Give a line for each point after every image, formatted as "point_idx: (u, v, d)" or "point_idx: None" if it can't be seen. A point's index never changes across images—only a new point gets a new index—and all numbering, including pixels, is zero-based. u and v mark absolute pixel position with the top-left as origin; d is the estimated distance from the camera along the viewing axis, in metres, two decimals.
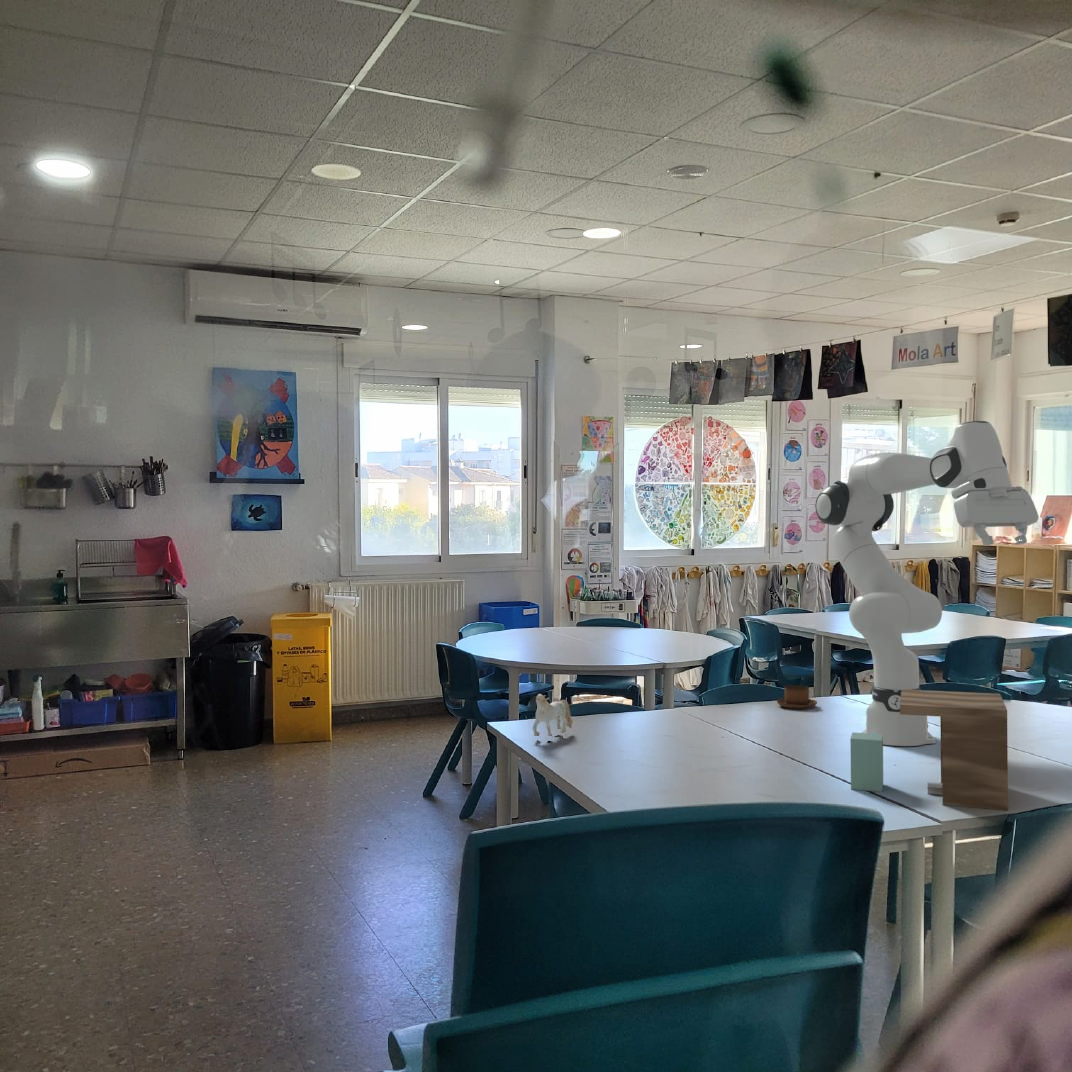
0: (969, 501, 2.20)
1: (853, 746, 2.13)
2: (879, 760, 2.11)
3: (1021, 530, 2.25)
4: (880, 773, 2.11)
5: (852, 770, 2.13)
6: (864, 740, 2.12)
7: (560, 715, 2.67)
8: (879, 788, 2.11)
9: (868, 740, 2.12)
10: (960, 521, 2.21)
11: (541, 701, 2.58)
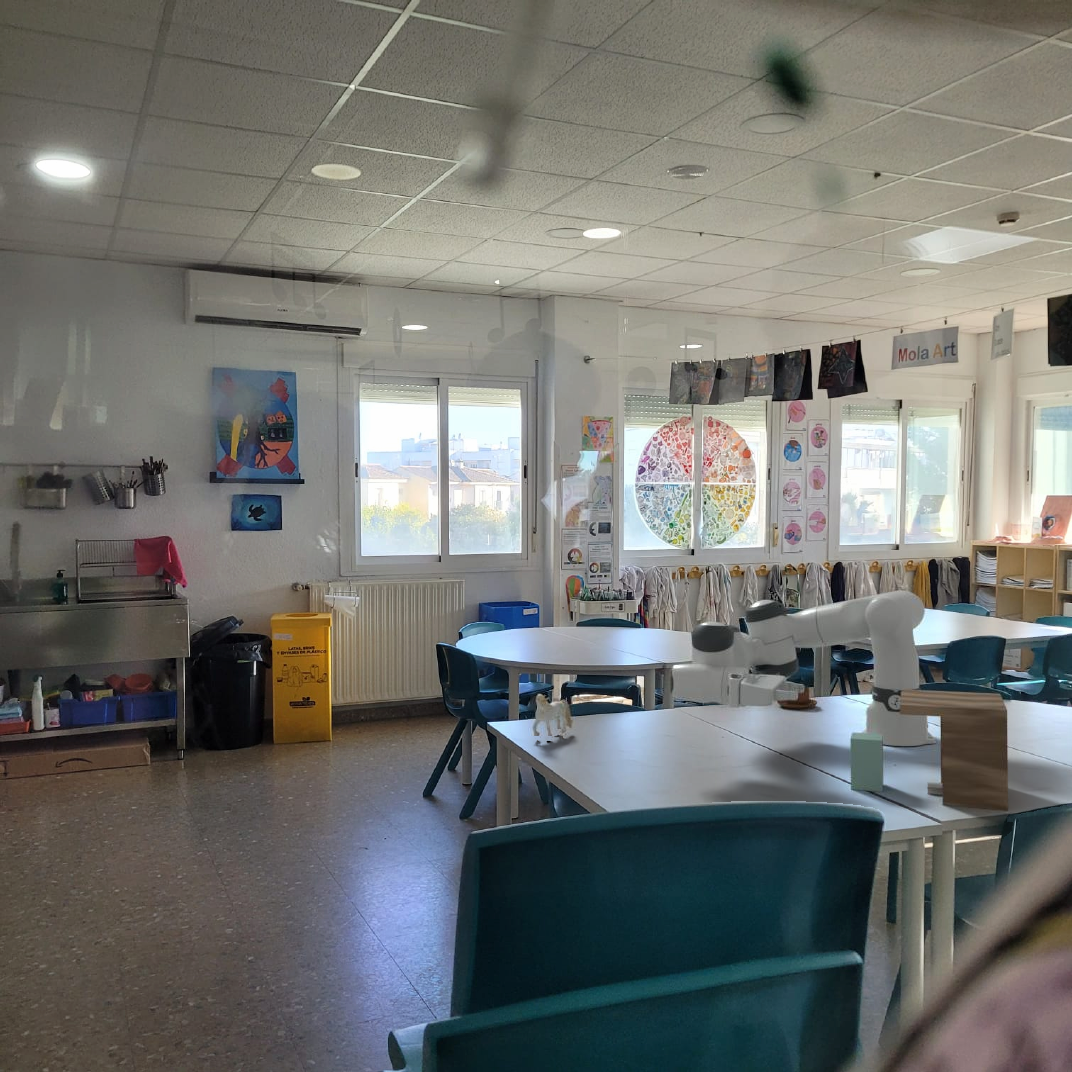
0: (750, 684, 2.15)
1: (853, 746, 2.13)
2: (879, 760, 2.11)
3: (790, 686, 2.26)
4: (880, 773, 2.11)
5: (852, 770, 2.13)
6: (864, 740, 2.12)
7: (560, 715, 2.67)
8: (879, 788, 2.11)
9: (868, 740, 2.12)
10: (766, 701, 2.13)
11: (541, 701, 2.58)
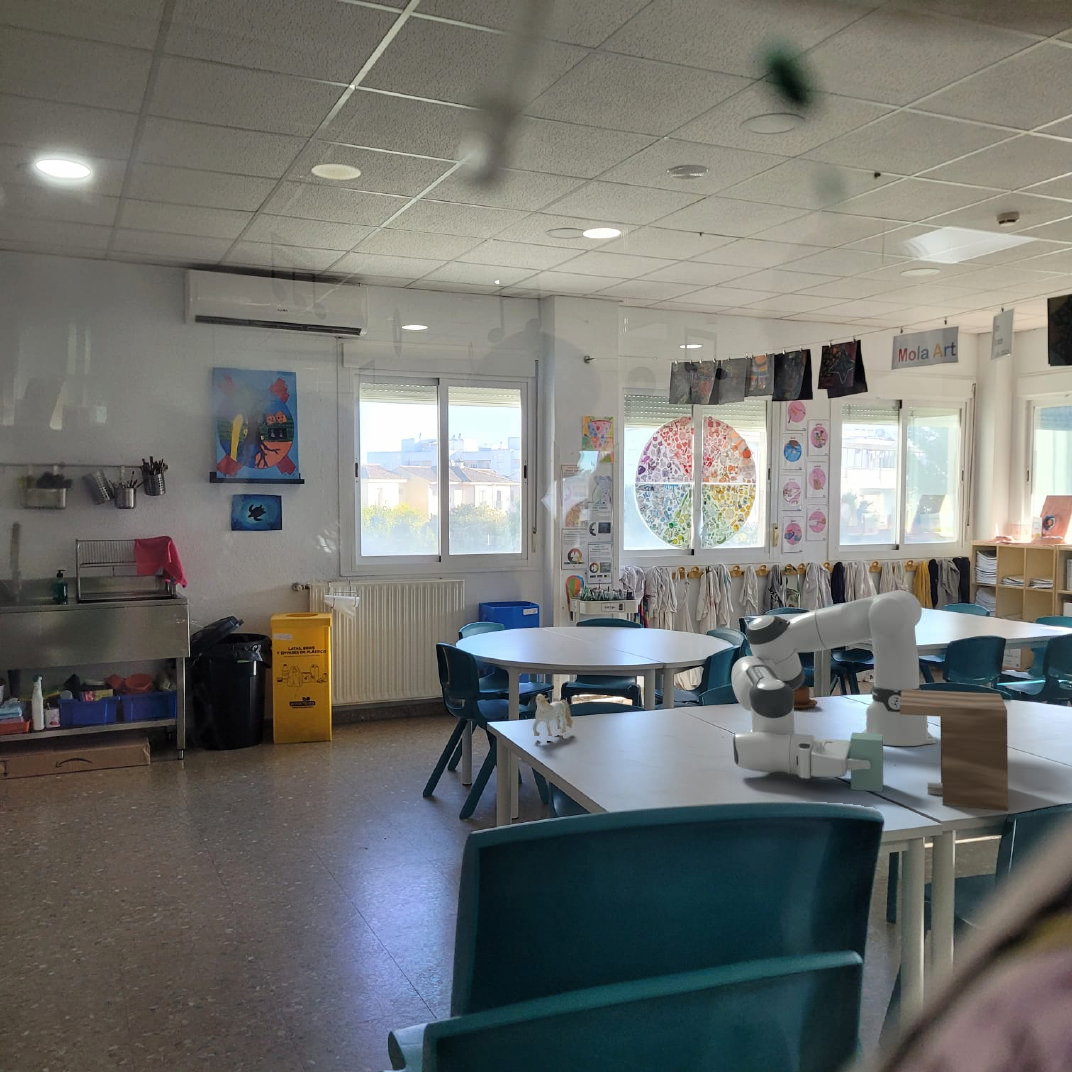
0: (822, 755, 2.10)
1: (853, 746, 2.13)
2: (879, 760, 2.11)
3: None
4: (880, 773, 2.11)
5: (852, 770, 2.13)
6: (864, 740, 2.12)
7: (560, 715, 2.67)
8: (879, 788, 2.11)
9: (868, 740, 2.12)
10: (839, 772, 2.08)
11: (541, 701, 2.58)
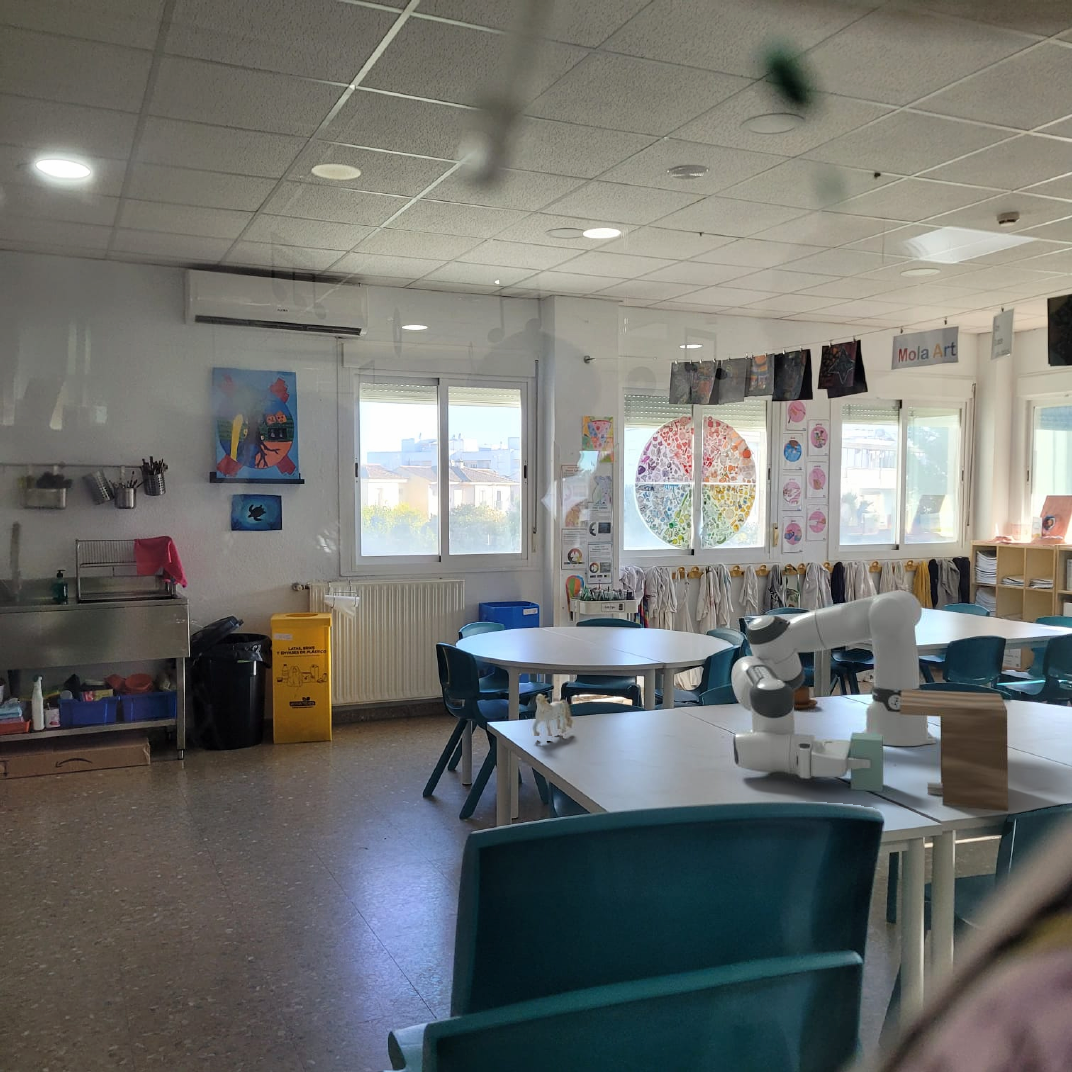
0: (822, 755, 2.10)
1: (853, 746, 2.13)
2: (879, 760, 2.11)
3: None
4: (880, 773, 2.11)
5: (852, 770, 2.13)
6: (864, 740, 2.12)
7: (560, 715, 2.67)
8: (879, 788, 2.11)
9: (868, 740, 2.12)
10: (839, 772, 2.08)
11: (541, 701, 2.58)
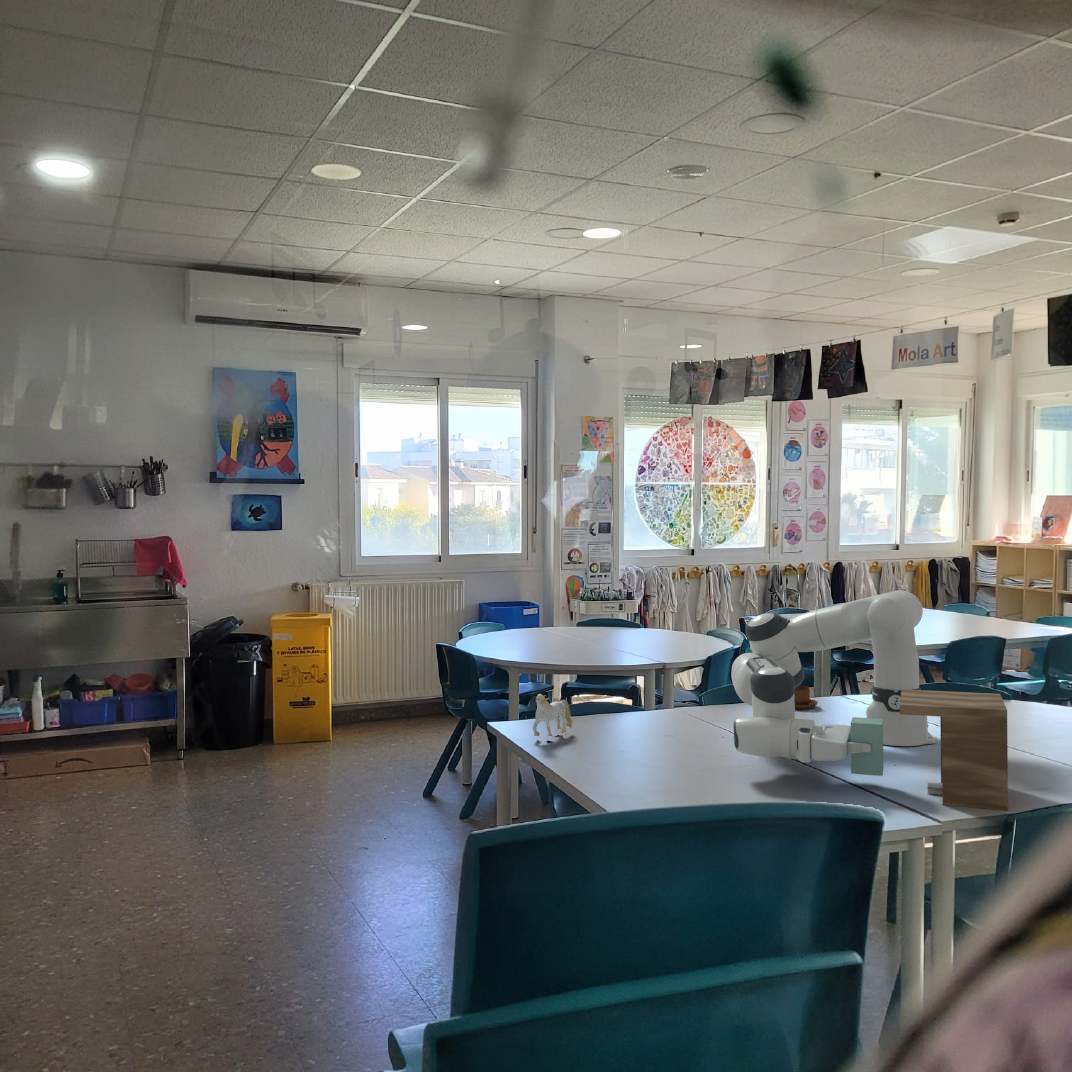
0: (822, 739, 2.10)
1: (853, 730, 2.13)
2: (879, 744, 2.11)
3: None
4: (880, 757, 2.11)
5: (852, 754, 2.13)
6: (864, 724, 2.12)
7: (560, 715, 2.67)
8: (879, 772, 2.11)
9: (868, 724, 2.12)
10: (840, 755, 2.07)
11: (541, 701, 2.58)
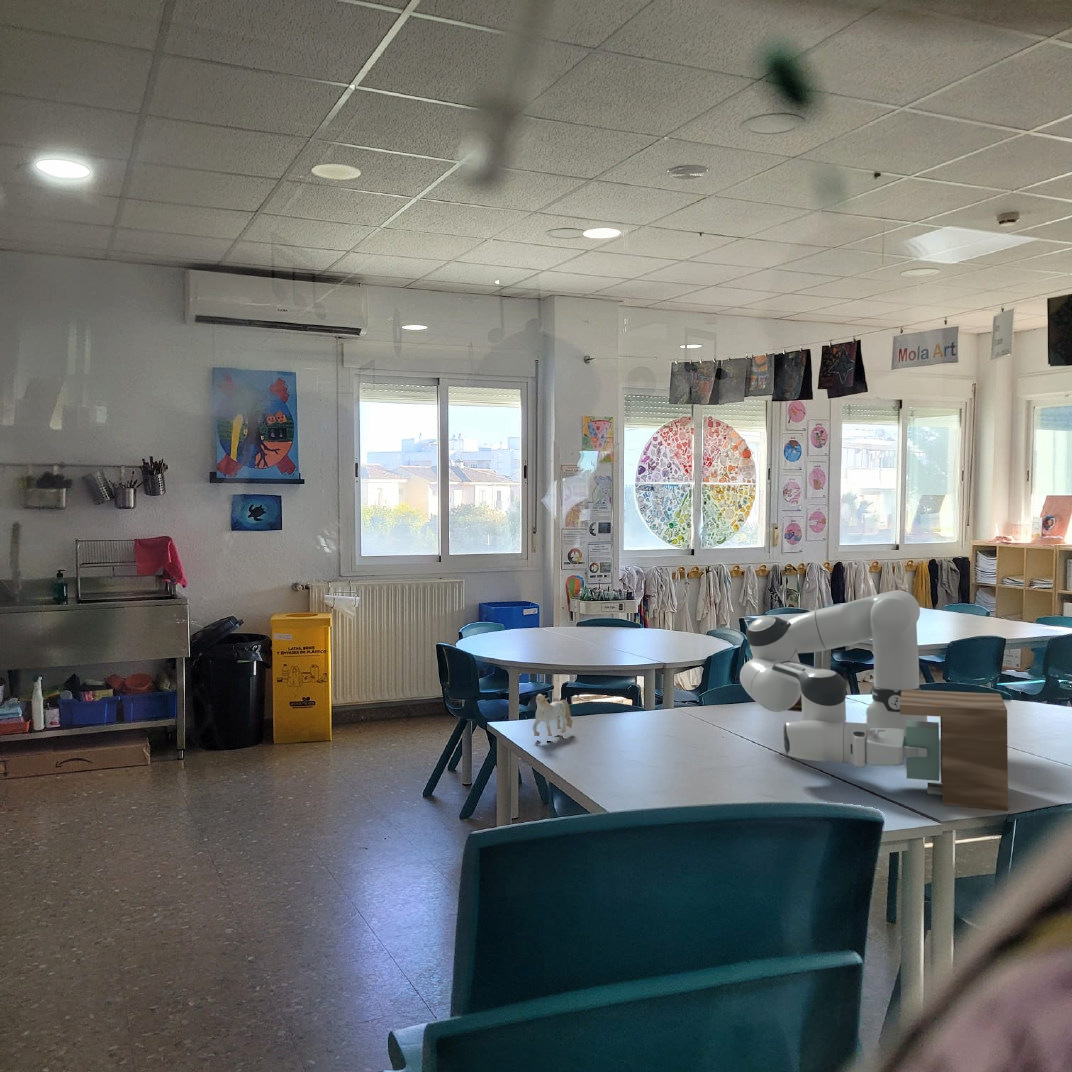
0: (878, 743, 2.05)
1: (909, 734, 2.08)
2: (936, 748, 2.07)
3: None
4: (937, 762, 2.07)
5: (908, 759, 2.09)
6: (920, 728, 2.08)
7: (560, 715, 2.67)
8: (936, 777, 2.07)
9: (924, 728, 2.07)
10: (896, 760, 2.03)
11: (541, 701, 2.58)
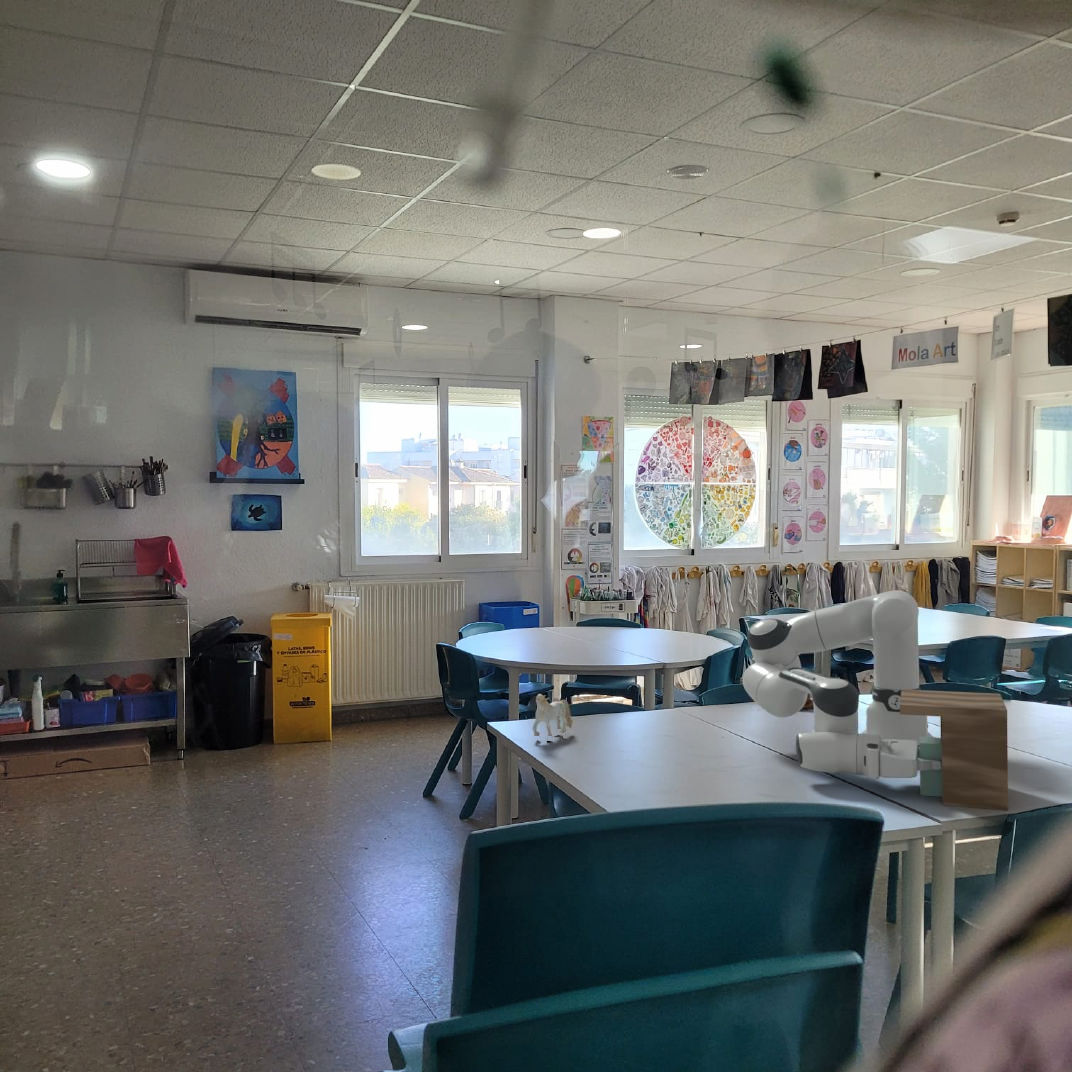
0: (892, 755, 2.05)
1: (922, 751, 2.08)
2: None
3: None
4: None
5: (921, 775, 2.08)
6: (934, 745, 2.07)
7: (560, 715, 2.67)
8: None
9: (938, 745, 2.07)
10: (910, 772, 2.02)
11: (541, 701, 2.58)
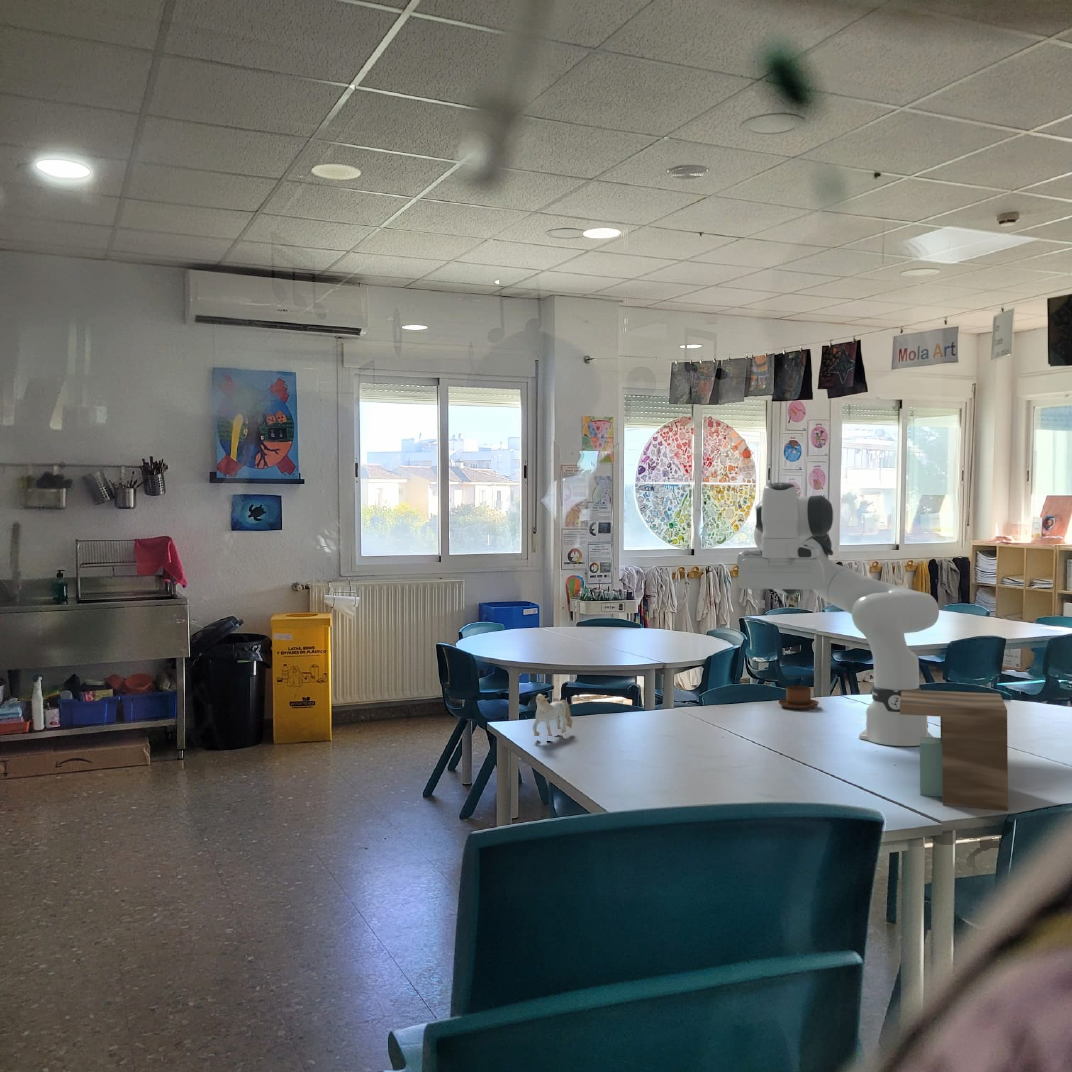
0: None
1: (922, 751, 2.08)
2: None
3: (757, 594, 2.39)
4: None
5: (921, 775, 2.08)
6: (934, 745, 2.07)
7: (560, 715, 2.67)
8: None
9: (938, 745, 2.07)
10: (824, 584, 2.32)
11: (541, 701, 2.58)
